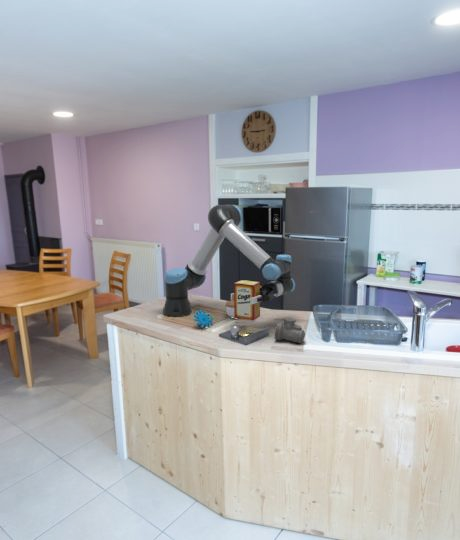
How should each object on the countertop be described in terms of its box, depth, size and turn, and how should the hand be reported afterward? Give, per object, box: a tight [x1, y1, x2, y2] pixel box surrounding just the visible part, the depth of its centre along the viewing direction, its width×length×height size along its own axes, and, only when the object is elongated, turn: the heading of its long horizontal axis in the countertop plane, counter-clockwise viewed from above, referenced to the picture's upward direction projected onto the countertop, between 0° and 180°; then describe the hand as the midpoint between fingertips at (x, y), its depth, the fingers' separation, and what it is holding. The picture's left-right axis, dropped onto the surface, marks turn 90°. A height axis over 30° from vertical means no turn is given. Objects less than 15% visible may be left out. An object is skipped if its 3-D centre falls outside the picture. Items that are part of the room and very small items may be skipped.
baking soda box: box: [233, 279, 261, 321], centre depth 171 cm, size 10×6×16 cm
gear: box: [193, 309, 215, 329], centre depth 187 cm, size 11×6×10 cm
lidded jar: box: [225, 299, 234, 318], centre depth 199 cm, size 11×11×9 cm
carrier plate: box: [218, 324, 270, 346], centre depth 172 cm, size 16×16×6 cm
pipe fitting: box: [274, 316, 306, 344], centre depth 165 cm, size 12×8×10 cm
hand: (241, 299), depth 168 cm, fingers closed on baking soda box, 11 cm apart
